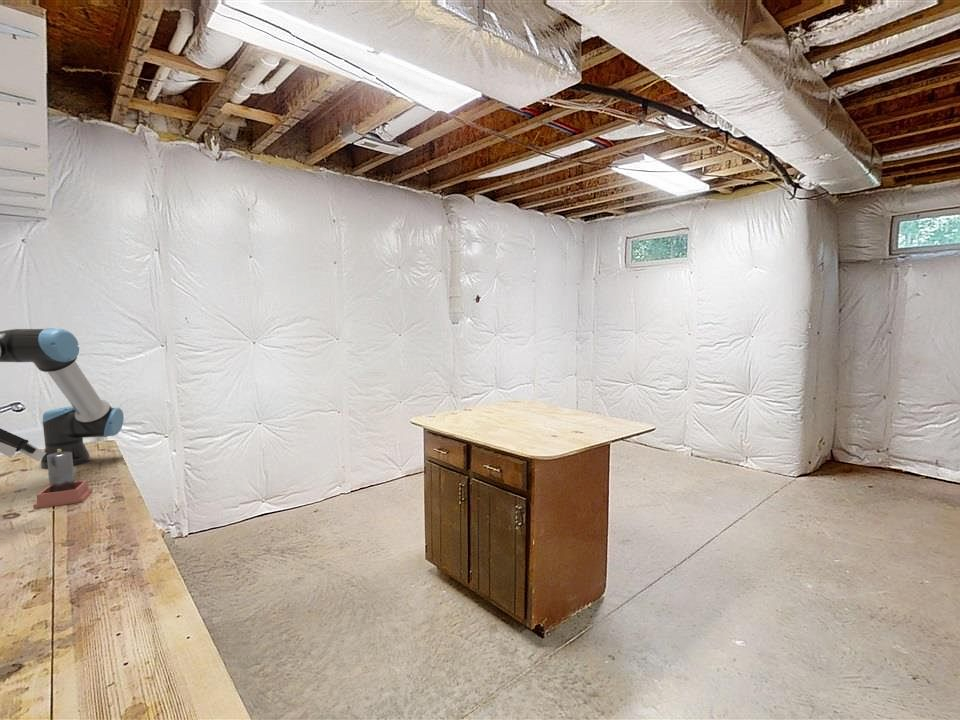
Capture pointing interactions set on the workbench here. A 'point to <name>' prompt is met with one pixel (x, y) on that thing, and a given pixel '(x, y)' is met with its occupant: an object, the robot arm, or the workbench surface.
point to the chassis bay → (63, 495)
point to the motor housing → (61, 471)
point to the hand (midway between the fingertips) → (27, 455)
